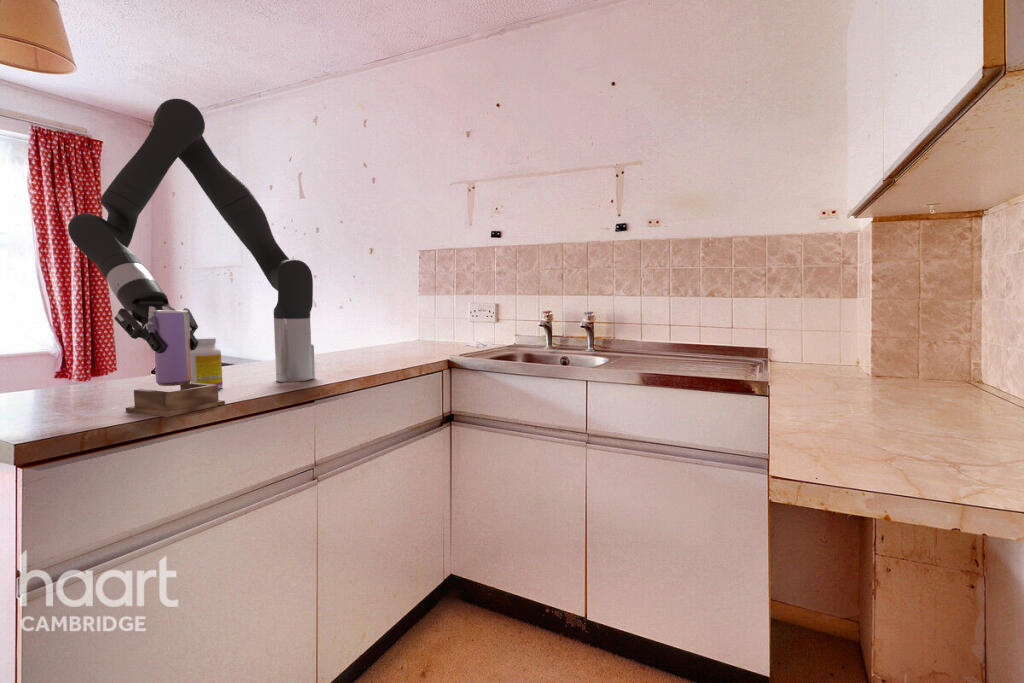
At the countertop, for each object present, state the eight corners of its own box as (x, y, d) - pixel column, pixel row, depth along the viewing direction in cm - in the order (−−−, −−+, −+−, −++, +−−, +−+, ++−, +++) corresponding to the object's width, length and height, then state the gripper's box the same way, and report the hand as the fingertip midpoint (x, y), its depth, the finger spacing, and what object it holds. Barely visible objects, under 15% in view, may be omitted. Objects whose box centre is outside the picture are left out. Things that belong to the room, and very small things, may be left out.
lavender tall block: (173, 387, 94) (170, 311, 93) (148, 385, 95) (145, 310, 94) (198, 382, 100) (196, 310, 99) (175, 380, 101) (172, 310, 100)
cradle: (185, 400, 106) (184, 380, 105) (224, 404, 102) (223, 384, 101) (125, 411, 95) (124, 390, 94) (167, 416, 90) (165, 394, 90)
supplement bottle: (228, 388, 120) (226, 337, 119) (202, 392, 114) (199, 339, 113) (211, 386, 123) (209, 336, 122) (185, 390, 117) (182, 338, 116)
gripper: (105, 275, 92) (149, 338, 89) (180, 279, 105) (220, 334, 102) (89, 302, 94) (132, 365, 91) (164, 302, 108) (204, 357, 104)
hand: (178, 348), depth 96 cm, fingers closed on lavender tall block, 6 cm apart
